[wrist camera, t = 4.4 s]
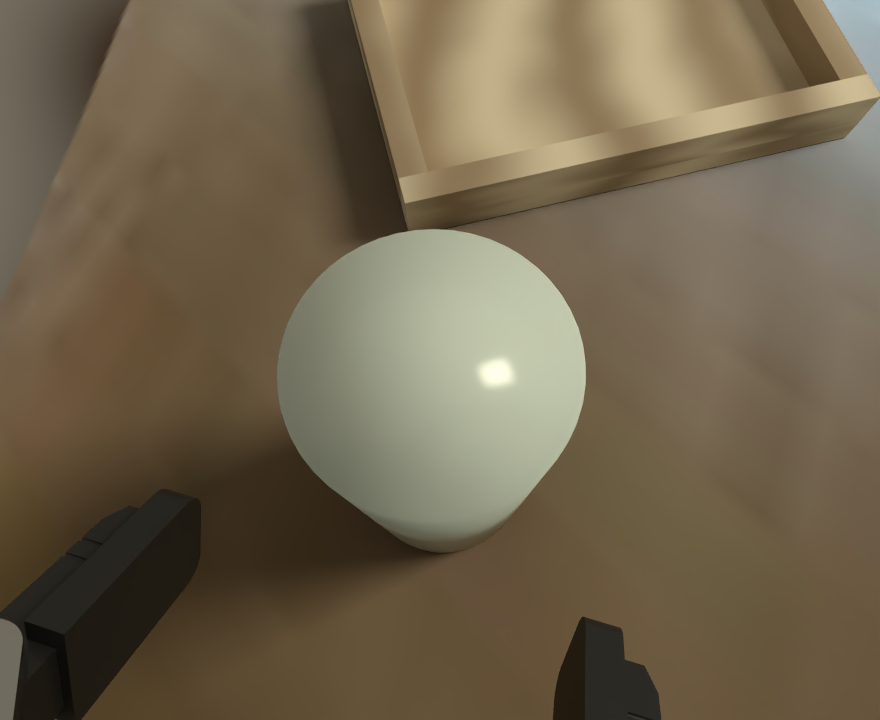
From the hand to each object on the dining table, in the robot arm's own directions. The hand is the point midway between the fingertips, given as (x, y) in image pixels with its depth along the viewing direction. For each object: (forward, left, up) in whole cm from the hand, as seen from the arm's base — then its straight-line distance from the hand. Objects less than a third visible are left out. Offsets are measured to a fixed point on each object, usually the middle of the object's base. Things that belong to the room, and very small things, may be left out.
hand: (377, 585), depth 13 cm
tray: (-13, -21, -10) cm, 26 cm away
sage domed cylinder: (-2, -4, -10) cm, 11 cm away
